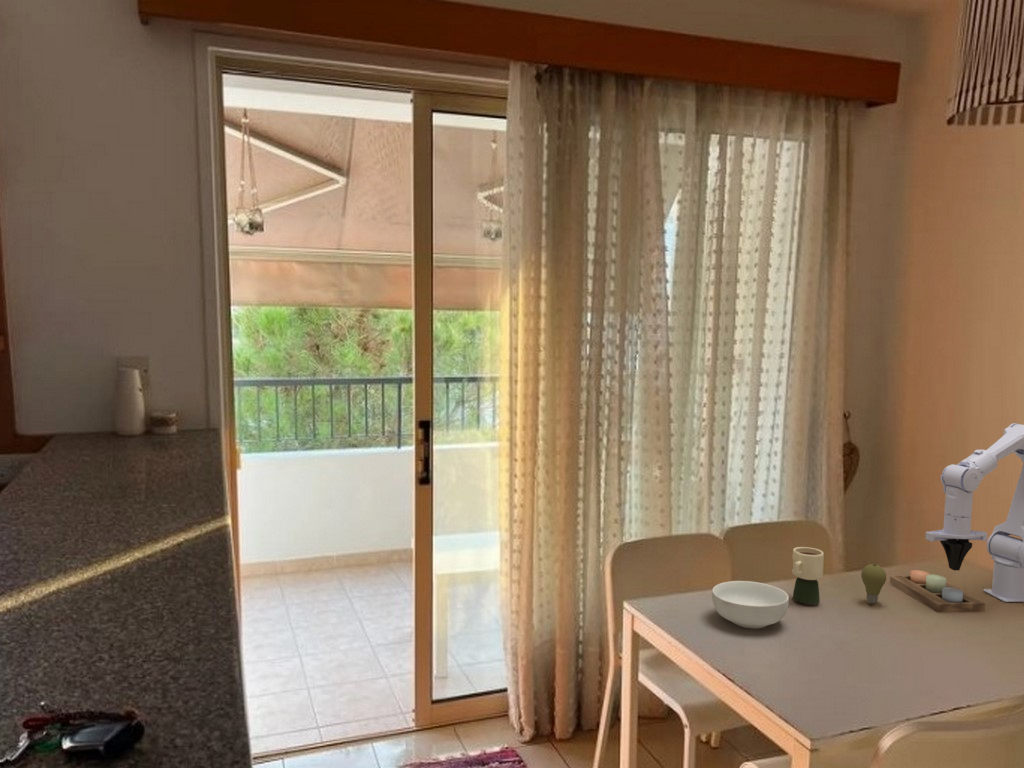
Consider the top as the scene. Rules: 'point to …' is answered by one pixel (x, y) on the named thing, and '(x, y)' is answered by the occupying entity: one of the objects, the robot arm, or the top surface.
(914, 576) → the orange rounded lump
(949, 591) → the grey rounded piece
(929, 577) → the sage button
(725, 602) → the cereal bowl
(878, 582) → the light bulb
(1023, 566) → the robot arm
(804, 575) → the character mug
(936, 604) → the wooden compartment tray
